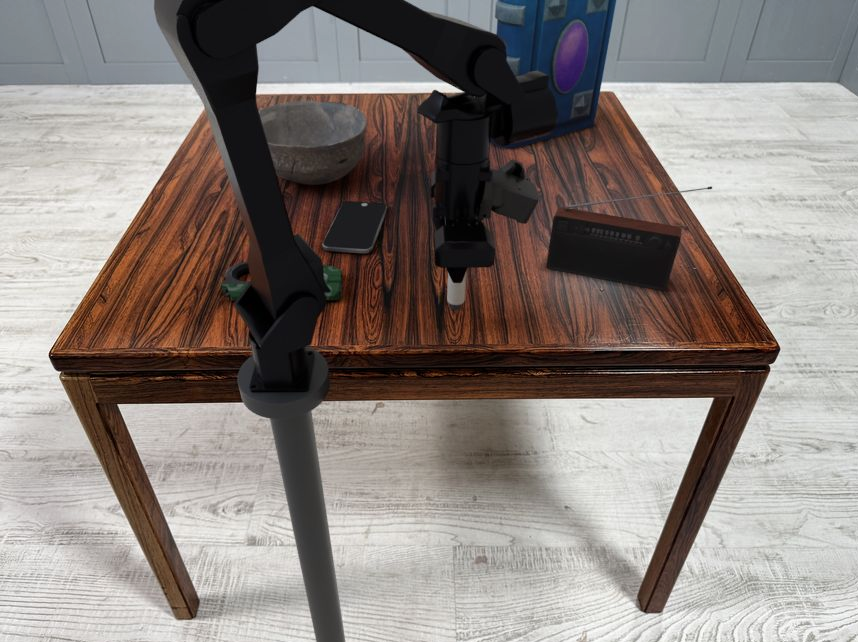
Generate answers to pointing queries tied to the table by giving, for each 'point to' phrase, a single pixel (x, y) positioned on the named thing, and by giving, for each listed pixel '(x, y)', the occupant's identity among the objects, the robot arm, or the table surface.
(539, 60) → the book
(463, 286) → the white cylinder
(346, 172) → the bowl
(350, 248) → the smartphone
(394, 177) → the table surface
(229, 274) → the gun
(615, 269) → the radio
